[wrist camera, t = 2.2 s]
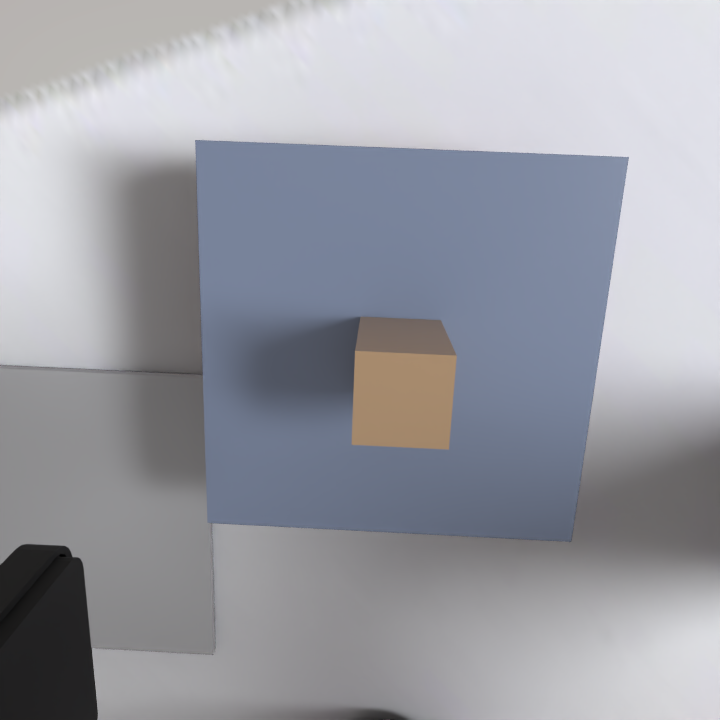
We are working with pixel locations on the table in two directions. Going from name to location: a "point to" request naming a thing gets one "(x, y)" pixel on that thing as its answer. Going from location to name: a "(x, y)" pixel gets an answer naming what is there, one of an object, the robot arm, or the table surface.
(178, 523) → the mat
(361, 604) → the table surface
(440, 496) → the cover
